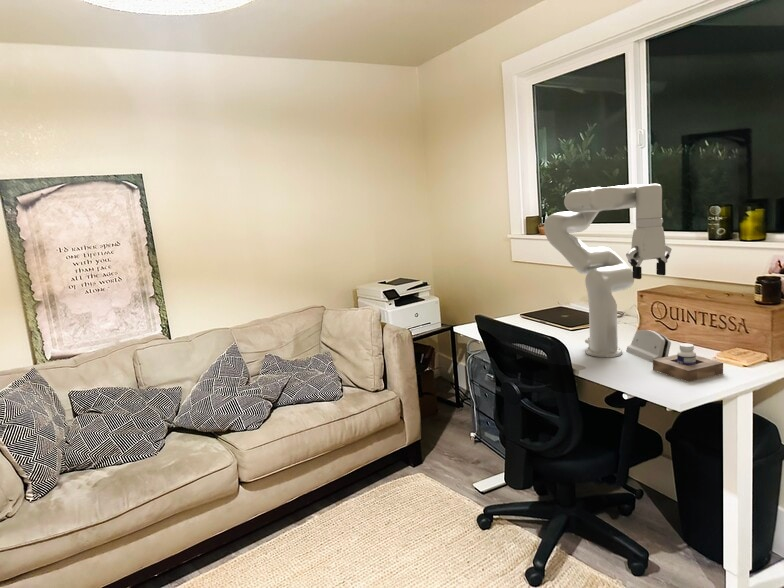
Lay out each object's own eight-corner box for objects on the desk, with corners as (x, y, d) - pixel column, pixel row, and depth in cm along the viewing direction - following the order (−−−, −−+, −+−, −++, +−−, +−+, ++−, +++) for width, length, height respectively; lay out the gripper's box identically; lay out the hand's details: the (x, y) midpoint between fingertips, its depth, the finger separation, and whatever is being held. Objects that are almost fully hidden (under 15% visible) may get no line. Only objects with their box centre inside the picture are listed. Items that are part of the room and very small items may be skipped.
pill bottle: (675, 369, 182) (675, 343, 181) (692, 369, 181) (692, 342, 180) (680, 374, 177) (680, 347, 176) (698, 374, 176) (698, 346, 175)
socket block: (652, 369, 183) (652, 359, 183) (686, 362, 188) (686, 352, 187) (688, 381, 170) (688, 370, 170) (723, 373, 175) (723, 362, 174)
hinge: (625, 350, 206) (633, 324, 205) (636, 353, 207) (644, 327, 206) (654, 363, 190) (663, 334, 189) (665, 366, 191) (674, 337, 190)
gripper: (661, 221, 185) (661, 272, 188) (618, 225, 180) (619, 278, 182) (679, 221, 178) (679, 274, 181) (635, 226, 173) (636, 281, 175)
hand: (649, 276), depth 182 cm, fingers open, 9 cm apart
